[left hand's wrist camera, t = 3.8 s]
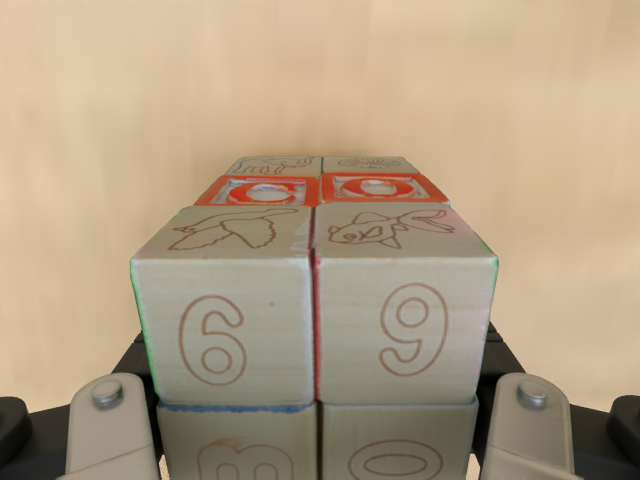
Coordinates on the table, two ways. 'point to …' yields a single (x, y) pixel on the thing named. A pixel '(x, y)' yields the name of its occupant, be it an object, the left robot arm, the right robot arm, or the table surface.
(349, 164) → the stack of blocks
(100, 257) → the table surface
